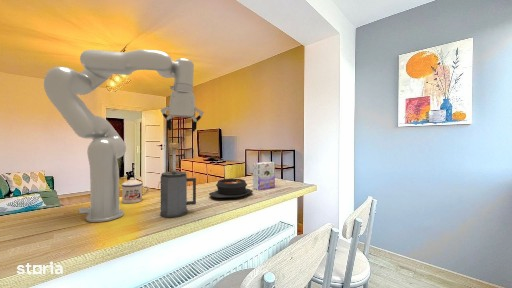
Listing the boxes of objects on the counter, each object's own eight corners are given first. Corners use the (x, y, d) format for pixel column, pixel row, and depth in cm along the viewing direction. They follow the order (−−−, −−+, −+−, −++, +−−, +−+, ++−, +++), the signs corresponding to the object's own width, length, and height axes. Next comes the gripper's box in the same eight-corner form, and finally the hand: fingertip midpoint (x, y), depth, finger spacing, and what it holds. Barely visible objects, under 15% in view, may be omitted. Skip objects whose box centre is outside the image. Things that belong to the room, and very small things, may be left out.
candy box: (269, 186, 151) (269, 161, 151) (275, 187, 147) (275, 162, 146) (252, 188, 143) (252, 162, 142) (258, 190, 138) (258, 163, 137)
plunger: (163, 194, 91) (163, 143, 90) (165, 190, 98) (165, 142, 97) (183, 193, 93) (183, 143, 92) (184, 189, 100) (184, 143, 99)
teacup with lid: (122, 205, 106) (121, 180, 106) (121, 200, 114) (121, 177, 114) (150, 201, 113) (150, 178, 112) (147, 197, 120) (147, 175, 120)
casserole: (241, 189, 140) (241, 176, 140) (259, 196, 125) (260, 181, 125) (203, 195, 125) (203, 180, 125) (219, 203, 110) (219, 186, 110)
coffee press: (158, 218, 89) (158, 175, 88) (162, 210, 99) (162, 171, 99) (195, 216, 93) (196, 174, 92) (195, 207, 103) (195, 170, 102)
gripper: (159, 86, 90) (157, 129, 91) (203, 89, 93) (201, 131, 93) (164, 90, 98) (162, 129, 98) (205, 93, 100) (203, 132, 101)
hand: (181, 130), depth 96 cm, fingers open, 9 cm apart
